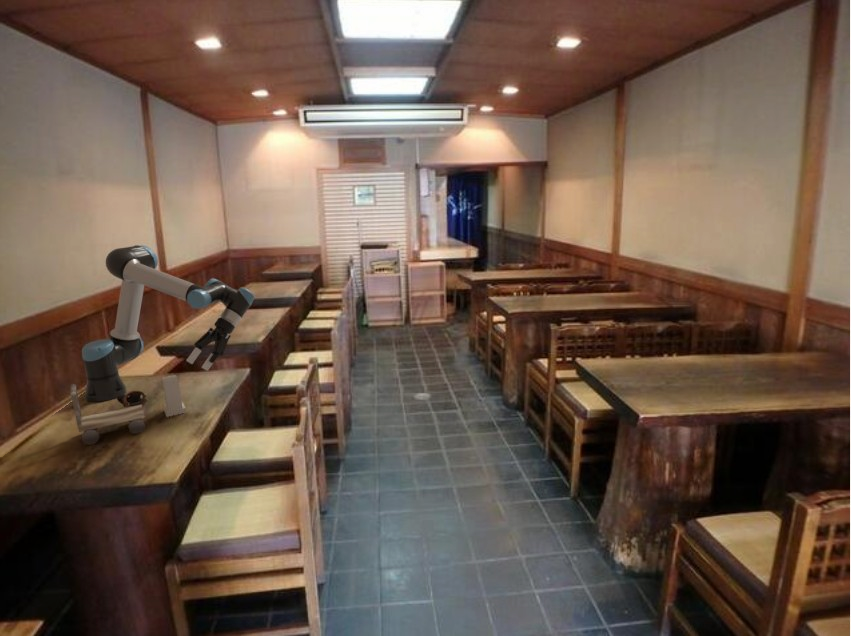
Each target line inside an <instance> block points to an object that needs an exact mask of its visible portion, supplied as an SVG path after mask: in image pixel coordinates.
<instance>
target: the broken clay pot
mask: <svg viewBox="0 0 851 636" xmlns="http://www.w3.org/2000/svg"><path fill="white" fill-rule="evenodd" d="M141 396H142V397H141ZM116 399H117V401H118V403H120V404H121V405H123V408H127V407H132V406H137V405H141V404H142V406H144V405H145V404H146V403H148V399H147V394H145V393H144V392H143V391H140V390H131V391H129V392H126V393H125V394H120V395H118V397H117V398H116Z"/></svg>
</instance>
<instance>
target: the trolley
mask: <svg viewBox="0 0 851 636" xmlns="http://www.w3.org/2000/svg"><path fill="white" fill-rule="evenodd" d="M69 392H70V396H71V401H72V406H73V411H74V415H75V420H76V426H77V428H78V432H79V433H81V432H82V435H81V440H82V443H84V444H85V445H88V446H90V445H94V444H96V443H97V442H98V441H99V439H100V434H99V431H98V429H99V428H103V427H108V426H113V425H118V424H121V423H126V422H128V430H129V433H131V434H135V435H137V434H140V433H142V432H143V431H144V430H145V427H146V425H145V422H144V420H142V419H144V418H145V417H146V415H145V412H144V407H143V405H142V404H141V405H137V406H132V407H123V408H119V409H118V408H117V409H114V410H109V411H105V412H101V413H96V414H90V415H87V416H86V415H85V416H82V411H81V405H80V402H79V397H78V392H77V384H75V383H72V384H71V385H70V391H69Z"/></svg>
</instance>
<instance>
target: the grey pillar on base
mask: <svg viewBox="0 0 851 636" xmlns="http://www.w3.org/2000/svg"><path fill="white" fill-rule="evenodd" d="M161 380H162V386H163V393H164V400H165V406H163V411H164V414H165V416H166V418H169V416H170V417H174V416H178V414H179V415H183V414H187V408H186V406H185V404H184V402H183V401H182V394H181V388H180V381H179V378H178V375H177V374H173V375H169V376H167V375H166V376H162V378H161ZM182 413H183V414H182ZM173 415H174V416H173Z"/></svg>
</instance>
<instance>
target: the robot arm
mask: <svg viewBox="0 0 851 636" xmlns="http://www.w3.org/2000/svg"><path fill="white" fill-rule="evenodd" d="M158 261H159V260H158V257H157V254H156V253H155V251H154V250H153V249H152V248H150V247H149V246H147V245H142V244H141V245H132V246H126V247H118V248H115V249H112V250H111V251H110V252H109V253H108V254H107V256H106V259H105V267H106V269H107V271H108V272H109V273H110V274H111V275H112V276H114V277H116V278H118V279H120V280H121V284H120V285H121V286H120V291H119V297H118V303H117V304H118V306H117V312H116V318H115V319H116V320H115V324H114V328H113V329H112V330H110V332H109V338H103V339H97V340H94V341H93V340H92V341H90V342H88V343H86V344H85V345H84V346H82V349H81V353H82V354H81V358H82V361H83V365H84V366H83V367H84V371H85V376H86V381H87V382H86V387H85V392H84V397H85V400H86V401H87V402H91V403H92V402H93V403H98V402H104V401H105V402H106V401H110V400H114V399H117V397H118V395H120V394H124V395H126V394H127V387H126V385H125V383H124V382H123V379H122V378H121V377H120V374H119V369H118V368H119V366H121V365H123V364H125V363H129V362H131V361H134V359H136V358H138V357H139V356H141V354H142V353H143V350H144V347H145V346H144V341H143V340H142V337H141V334H140V333H139V332H138V326H139V320H140V313H141V306H142V302H143V296H144V290H145V287H148V288H150V289H154V290H156V291H159V292H162V293H164V294H166V295H169V296H172V297H175V298H177V299H180V300H182V301H184V302H187V303H188V305H189V306H190V307H191V308H193V309H194V310H195V309H196V310H199V309H205V308H207V307H209V306H212V305H214V304H217V303H222V304H223V305H225V306H226V307H225V308H224V309H223V311H222V313H221V314H220V315H219V316H220V317H218V318H217V319H216V320H215V322H214V324H213V325H214V326H215V328H212V327H209V329H208V330H207V331H206V332H205V333H204V334H203V335H202V336H201V337H200V338H199V339H198V340H197V341H195V343H193V344H194V349H192V350H193V351H192V352H191V353H190V354H189V356H188V357H187V358H186V360H185V362H188V363H189V364H191V365H193V364H194V362H195V361H196V359H197V358H198V357H199V355H200V354H201V353H202V351H203V349H204V348H205V347H207V346H208V345H210V344H211V343H214V345H213V350H212V351H211V353H210V354H209V356H208V357H207V358H206V360H205V361H204V363H203V364H202V366H201V369H203V370H205V371H209V370H210V368H211V367H212V365H213V364H214V363H215V361H216V360H217V359H218V357H222V356H223V355H224V352H225V349H226V348H227V345H228V342H229V340H230V338H231V337H232V336H231V334H232V333H233V331H234V330H235V329H236V326H238V324H239V323H240V322H241V320H242V318H243V317H244V315H245V314H246V312H248V310H249V308H251V306H252V304H253V302H254V301H255V298H256V296H255V294H254V293H253V292H252V291H250V290H249V289H248V288H245V287H239V289H238V290H237V289H235V288H234V287H231V286H229V285H228V284H226V283H225V282H223V281H221V280H219V279H216V278H210V279H209V280H208V281H207V282H206V283H205V285H204V286H202V285H198V284H195V283H193V282H190V281H188V280H185V279H182V278H179V277H177V276H174V275H171V274H169V273H167V272H164V271H161V270H158V269H156V268H157V266H158Z"/></svg>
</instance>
